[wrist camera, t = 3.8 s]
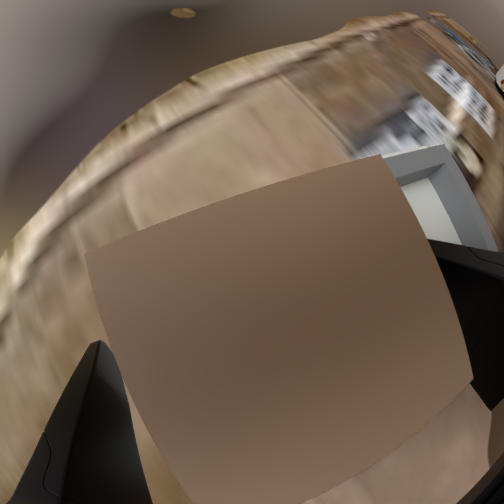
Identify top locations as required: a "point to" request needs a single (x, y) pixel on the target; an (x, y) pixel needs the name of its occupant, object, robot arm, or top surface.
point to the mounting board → (440, 196)
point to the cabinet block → (283, 334)
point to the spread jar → (500, 81)
